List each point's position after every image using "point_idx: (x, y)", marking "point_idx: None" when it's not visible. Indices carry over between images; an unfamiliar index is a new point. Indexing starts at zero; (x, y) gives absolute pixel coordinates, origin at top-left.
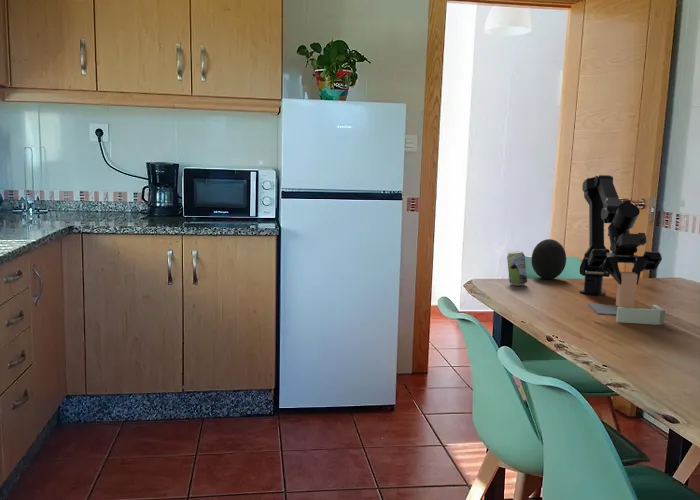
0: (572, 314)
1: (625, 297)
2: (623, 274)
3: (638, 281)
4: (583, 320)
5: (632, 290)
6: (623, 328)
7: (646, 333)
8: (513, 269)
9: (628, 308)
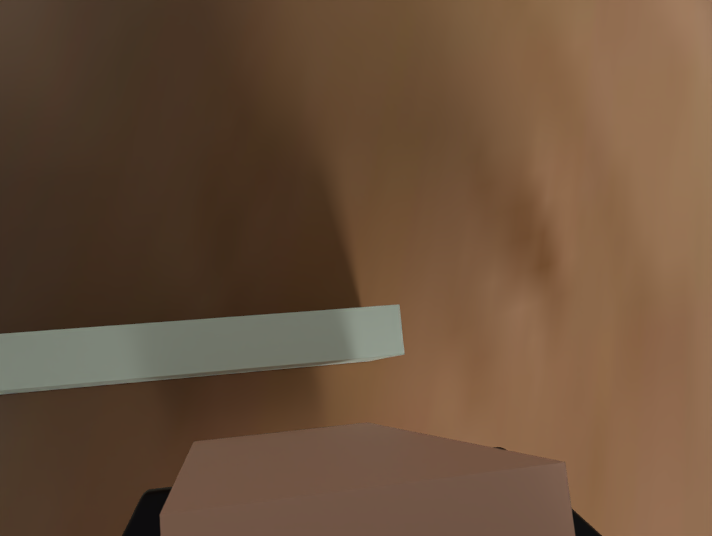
0: (707, 496)
1: (327, 436)
2: (530, 468)
3: (126, 527)
4: (631, 300)
5: (243, 458)
6: (350, 122)
7: (193, 8)
8: None
9: (288, 326)
